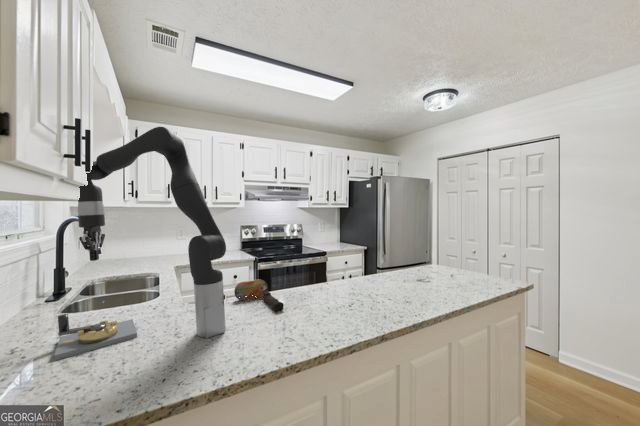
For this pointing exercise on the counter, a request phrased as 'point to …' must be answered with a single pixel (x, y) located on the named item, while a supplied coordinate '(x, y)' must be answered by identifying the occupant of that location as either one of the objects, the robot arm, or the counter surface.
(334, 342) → the counter surface
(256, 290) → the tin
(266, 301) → the hand tool
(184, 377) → the counter surface
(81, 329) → the lever with gold dial
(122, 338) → the base plate
